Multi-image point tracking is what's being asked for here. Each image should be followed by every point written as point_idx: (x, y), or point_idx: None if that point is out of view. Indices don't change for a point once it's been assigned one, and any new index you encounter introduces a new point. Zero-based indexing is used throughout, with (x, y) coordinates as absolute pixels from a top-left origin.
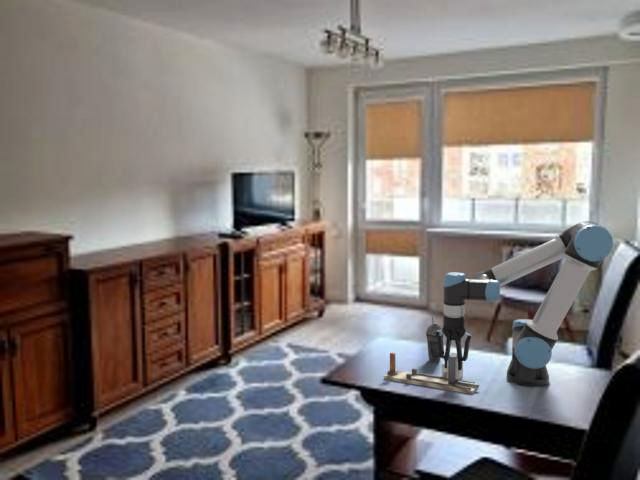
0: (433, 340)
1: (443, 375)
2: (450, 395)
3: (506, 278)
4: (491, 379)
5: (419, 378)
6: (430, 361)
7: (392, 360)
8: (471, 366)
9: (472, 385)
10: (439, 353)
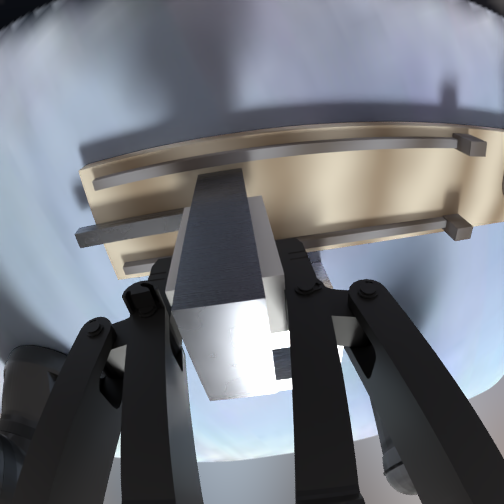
0: None
1: (317, 274)
2: (177, 64)
3: None
4: None
5: (420, 176)
6: None
7: None
8: (257, 404)
9: (106, 224)
10: (397, 310)
